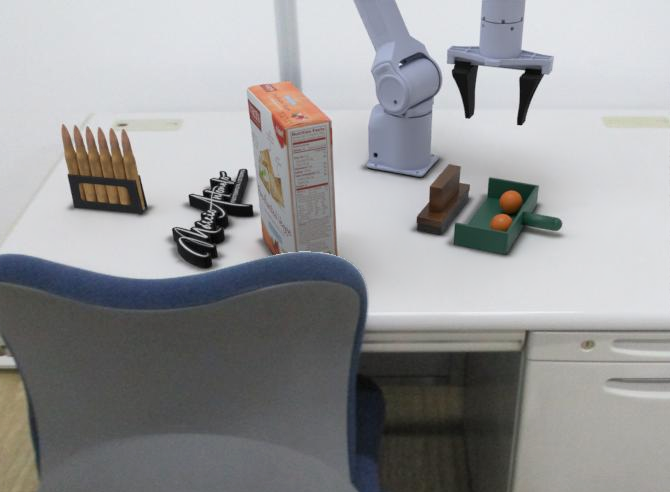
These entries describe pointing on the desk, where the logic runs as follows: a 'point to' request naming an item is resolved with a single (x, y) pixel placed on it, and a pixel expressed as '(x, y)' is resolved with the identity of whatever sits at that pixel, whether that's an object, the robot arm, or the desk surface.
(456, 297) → the desk surface
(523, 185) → the dustpan
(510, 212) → the orange ball
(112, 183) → the ammunition clip
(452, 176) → the brush
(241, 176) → the nameplate
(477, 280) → the desk surface
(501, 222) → the small orange ball
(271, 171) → the cracker box
